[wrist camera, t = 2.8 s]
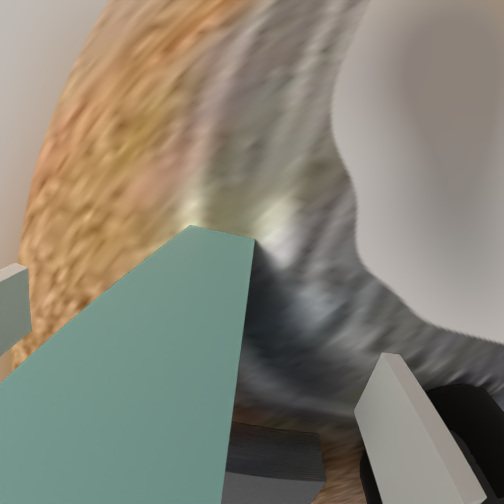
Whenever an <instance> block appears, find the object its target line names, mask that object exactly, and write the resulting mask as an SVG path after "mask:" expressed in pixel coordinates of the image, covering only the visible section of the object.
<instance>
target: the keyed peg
mask: <svg viewBox="0 0 504 504" xmlns="http://www.w3.org/2000/svg"><path fill="white" fill-rule="evenodd" d="M254 243H255V239H251V238H247V237H242V236H238V235H233V234H229V233H224V232H220V231H215V230H211V229H206V228H202V227H197V226H193V225H190V226H188V227H187V228H186V229H184V230H183V231H182V232H180V233H179V234H178V235H176V236H175V237H174V238H172V239H171V240H170V241H168V242H167V243H166V244H164V245H163V246H162V247H161V248H159V249H158V250H157V251H155V252H154V253H153V254H151V255H150V256H149V257H148V258H146V259H145V260H144V261H142V262H141V263H140V264H139V265H137V266H136V267H135V268H133V269H132V270H131V271H130V272H128V273H127V274H126V275H125V276H123V277H122V278H121V279H120V280H118V281H117V282H116V283H115V284H113V285H112V286H111V287H110V288H108V289H107V290H106V291H105V292H104V293H102V294H101V295H100V296H99V297H97V298H96V299H95V300H94V301H93V302H91V303H90V304H89V305H88V306H87V307H85V308H84V309H83V310H82V311H81V312H79V313H78V314H77V315H76V316H75V317H74V318H72V319H71V320H70V321H69V322H68V323H67V324H65V325H64V326H63V327H62V328H61V329H60V330H58V331H57V332H56V333H55V334H54V335H53V336H51V337H50V338H49V339H48V340H47V341H46V342H45V343H44V344H42V345H41V346H40V347H39V348H38V349H37V350H36V351H35V352H33V353H32V354H31V355H30V356H29V357H28V358H27V359H26V360H25V361H24V362H22V363H21V364H20V365H19V366H18V367H17V368H16V369H15V370H14V371H13V372H12V373H11V374H10V375H8V377H6V378H5V379H4V380H3V381H2V382H1V383H0V504H221V498H222V490H223V482H224V475H225V467H226V459H227V452H228V444H229V436H230V429H231V421H232V413H233V406H234V398H235V390H236V383H237V375H238V367H239V359H240V352H241V344H242V336H243V328H244V321H245V313H246V305H247V297H248V290H249V282H250V274H251V266H252V258H253V251H254Z"/></svg>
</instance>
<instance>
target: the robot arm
mask: <svg viewBox="0 0 504 504" xmlns="http://www.w3.org/2000/svg"><path fill="white" fill-rule="evenodd" d="M31 331H32V326H31V315H30V302H29V282H28V268H27V267H25V266H22V265H19V264H16V263H14V264H11V265H10V266H7V267H5V268H3V269H1V270H0V356H1V355H2V354H4V353H5V352H6V351H7V350H9V349H10V348H11V347H12V346H13V345H15V344H16V343H17V342H18V341H20V340H21V339H22V338H23V337H25V336H26V335H27V334H28V333H30V332H31ZM354 414H355V417H356V420H357V423H358V426H359V429H360V432H361V435H362V438H363V441H364V444H365V447H366V451H367V454H368V457H369V460H370V463H371V466H372V470H373V473H374V476H375V479H376V482H377V486H378V489H379V492H380V496H381V499H382V502H383V504H504V497H503V498H499V499H498V498H497V496H496V495H495V493H494V491H493V489H492V488H491V486H490V484H489V482H488V481H487V479H486V477H485V475H484V474H483V472H482V470H481V469H480V467H479V465H478V464H476V460H475V459H474V457H473V455H470V453H471V452H470V450H469V449H468V447H467V445H466V444H465V442H464V441H463V440H462V439H461V438H460V437H459V436H458V435H457V434H456V433H455V432H453V431H449V430H448V428H447V427H446V425H445V424H444V422H443V420H442V419H441V417H440V415H439V414H438V412H437V411H436V409H435V408H434V406H433V404H432V403H431V401H430V400H429V398H428V397H427V395H426V393H425V392H424V390H423V389H422V387H421V386H420V384H419V383H418V381H417V380H416V378H415V377H414V375H413V374H412V372H411V371H410V369H409V368H408V366H407V365H406V363H405V362H404V360H403V359H402V357H401V356H400V354H392V353H384V352H382V353H381V355H380V357H379V359H378V362H377V364H376V366H375V368H374V370H373V373H372V375H371V377H370V379H369V381H368V383H367V385H366V387H365V389H364V391H363V393H362V395H361V397H360V399H359V401H358V403H357V405H356V407H355V409H354Z"/></svg>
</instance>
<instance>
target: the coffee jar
mask: <svg viewBox="0 0 504 504" xmlns="http://www.w3.org/2000/svg"><path fill="white" fill-rule="evenodd" d="M425 393H426V395H427V397H428V398H429V400H430V401H431V403H432V404H433V406H434V408H435V409H436V411H437V412H438V414H439V415H440V417H441V419H442V420H443V422H444V424H445V425H446V427H447V428H448V430H449V431H453V432H455V433H456V434H457V435H458V436H459V437H460V438H461V439H462V440H463V441H464V442H465V444H466V445H467V447H468V449H469V450H470V452H471V453H470V455H473V457H474V459H475V460H476V464H478V465H479V467H480V469H481V470H482V472H483V474H484V475H485V477H486V479H487V481H488V482H489V484H490V486H491V488H492V489H493V491H494V493H495V495H496V496H497V498H498V499H499V498H503V497H504V412H503V411H502V409H501V408H500V407H499V406H498V405H497V403H496V402H495V401H494V400H493V399H492V397H491V396H490V395H489V394H488V393H487V391H486V390H484V389H481V388H477V387H473V386H470V385H460V384H457V385H449V386H441V387H438V388H436V389H433V390H431V391H428V392H425ZM360 477H361V481H362V485H363V489H364V493H365V496H366V500H367V504H383V502H382V499H381V496H380V492H379V489H378V486H377V482H376V479H375V476H374V473H373V470H372V466H371V463H370V460H369V457H368V454H367V451H366V449H365V451H364V453H363V455H362V457H361V461H360Z"/></svg>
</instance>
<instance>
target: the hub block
mask: <svg viewBox="0 0 504 504" xmlns="http://www.w3.org/2000/svg"><path fill="white" fill-rule="evenodd" d="M325 483H326V477H325V471H324V465H323V459H322V453H321V448H320V442H319V436H318V434H315V433H305V432H296V431H288V430H280V429H273V428H266V427H260V426H253V425H248V424H242V423H236V422H231V429H230V436H229V444H228V452H227V459H226V467H225V475H224V482H223V490H222V498H221V504H311V502H312V501H313V500H314V498H315V497H316V496H317V494H318V493H319V491H320V490H321V489H322V487H323V486H324V484H325Z"/></svg>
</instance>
